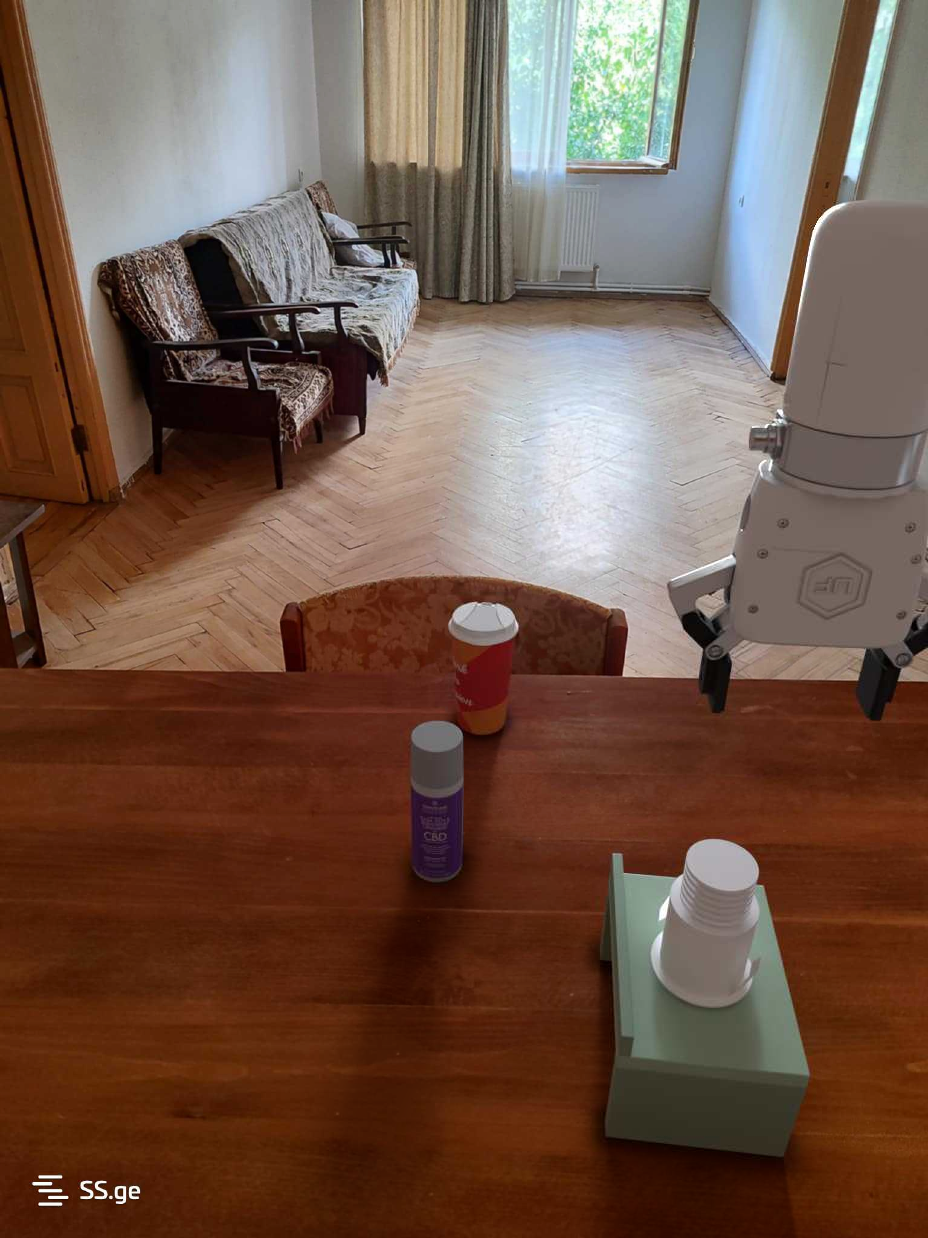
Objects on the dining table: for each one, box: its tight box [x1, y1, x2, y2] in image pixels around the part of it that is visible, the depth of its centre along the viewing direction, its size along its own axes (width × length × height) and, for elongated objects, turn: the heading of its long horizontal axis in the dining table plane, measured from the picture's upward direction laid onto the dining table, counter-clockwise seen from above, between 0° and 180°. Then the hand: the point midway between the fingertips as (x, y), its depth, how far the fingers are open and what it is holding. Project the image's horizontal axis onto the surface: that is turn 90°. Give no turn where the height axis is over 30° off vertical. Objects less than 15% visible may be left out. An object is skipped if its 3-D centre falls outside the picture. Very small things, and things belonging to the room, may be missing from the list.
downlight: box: [651, 838, 761, 1008], centre depth 60 cm, size 8×7×10 cm
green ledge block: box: [599, 853, 811, 1158], centre depth 65 cm, size 12×16×11 cm
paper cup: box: [447, 601, 519, 736], centre depth 99 cm, size 8×8×14 cm
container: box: [410, 720, 464, 883], centre depth 79 cm, size 5×5×15 cm
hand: (789, 704), depth 57 cm, fingers open, 9 cm apart
